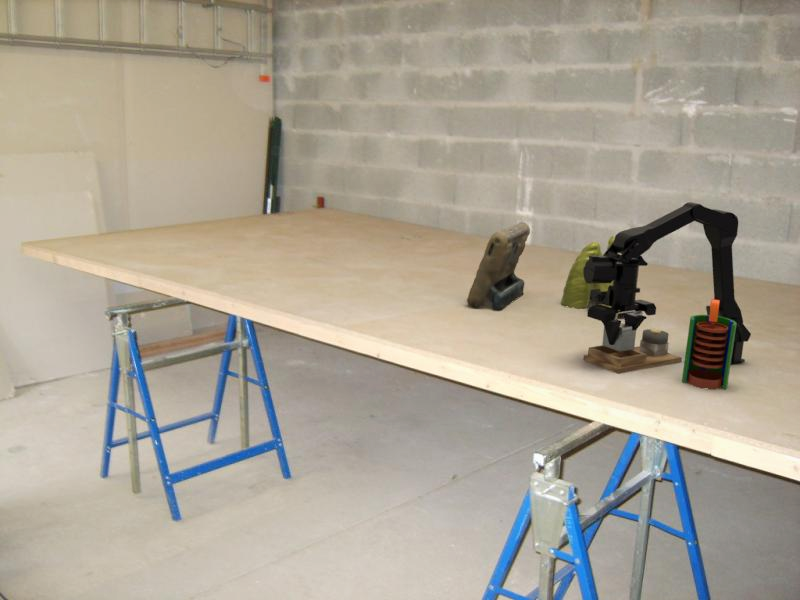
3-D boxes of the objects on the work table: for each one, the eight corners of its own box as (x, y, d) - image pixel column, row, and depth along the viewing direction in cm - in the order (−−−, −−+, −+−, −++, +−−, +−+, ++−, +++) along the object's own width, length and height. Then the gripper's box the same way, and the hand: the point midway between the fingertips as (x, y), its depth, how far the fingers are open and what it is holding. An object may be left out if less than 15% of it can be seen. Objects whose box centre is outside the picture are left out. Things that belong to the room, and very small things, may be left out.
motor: (685, 387, 191) (696, 304, 187) (678, 375, 200) (688, 295, 195) (730, 391, 190) (742, 307, 185) (721, 379, 198) (733, 299, 194)
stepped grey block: (634, 349, 205) (636, 326, 203) (620, 351, 202) (622, 329, 201) (616, 343, 210) (618, 321, 208) (602, 345, 207) (604, 323, 206)
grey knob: (671, 354, 212) (674, 332, 211) (654, 357, 209) (657, 334, 208) (652, 347, 218) (654, 326, 216) (635, 350, 214) (637, 328, 213)
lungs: (643, 317, 257) (652, 241, 252) (607, 321, 250) (615, 243, 244) (588, 299, 278) (595, 229, 273) (553, 303, 271) (560, 231, 265)
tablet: (487, 288, 288) (492, 218, 283) (526, 293, 284) (532, 221, 278) (465, 308, 258) (470, 229, 252) (508, 313, 254) (514, 233, 248)
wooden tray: (681, 361, 211) (683, 345, 210) (618, 373, 199) (620, 356, 198) (645, 349, 221) (647, 333, 220) (583, 359, 209) (584, 343, 208)
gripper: (626, 274, 213) (620, 331, 217) (574, 279, 204) (568, 339, 207) (660, 282, 204) (653, 342, 208) (607, 288, 194) (601, 351, 198)
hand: (618, 343), depth 205 cm, fingers closed on stepped grey block, 5 cm apart
